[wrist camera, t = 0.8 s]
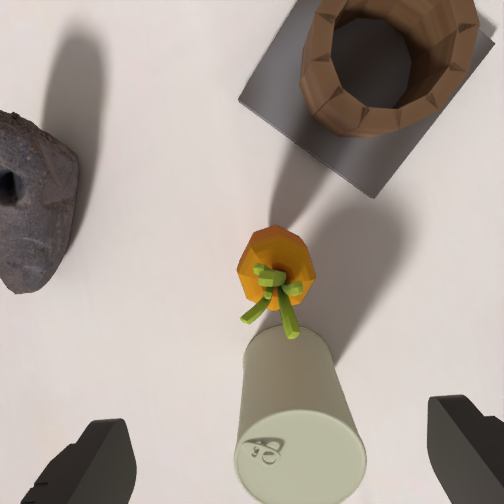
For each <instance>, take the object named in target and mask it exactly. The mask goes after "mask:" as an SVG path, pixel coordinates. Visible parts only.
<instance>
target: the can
mask: <svg viewBox="0 0 504 504" xmlns="http://www.w3.org/2000/svg"><path fill="white" fill-rule="evenodd" d="M299 328H300V334H299V335H298V337H296V338H295V339H288V338H287V336H286V334H285V331H284V327H283V325H279V326H275V327H271V328H269V329H267V330H265V331H263V332H261V333H260V334H258V335H257V336H256V337H255V338H254V339H253V340H252V341H251V342H250V344H249V345H248V347H247V349H246V351H245V354H244V358H243V372H244V373H243V386H242V397H241V408H240V417H239V426H238V435H237V443H236V448H235V452H234V468H235V472H236V475H237V478H238V480H239V482H240V484H241V485H242V487H243V488H244V490H245V491H246V492H247V493H248V494H249V495H250V496H251V497H252V498H253V499H255V500H256V501H258V502H259V503H261V504H340V503H342V502H343V501H345V500H346V499H347V498H348V497H350V496H351V495H352V494H353V493H354V492H355V490H356V489H357V488H358V487H359V485H360V483H361V481H362V479H363V477H364V474H365V471H366V465H367V456H366V450H365V447H364V444H363V441H362V439H361V438H360V436H359V434H358V431H357V429H356V426H355V423H354V421H353V418H352V415H351V413H350V410H349V407H348V405H347V402H346V399H345V396H344V394H343V391H342V388H341V385H340V382H339V380H338V377H337V374H336V371H335V368H334V365H333V359H332V355H331V352H330V349H329V347H328V346H327V344H326V343H325V341H324V340H323V339H322V338H321V337H320V336H319V335H318V334H316V333H315V332H313V331H311V330H309V329H307V328H305V327H301V326H299Z"/></svg>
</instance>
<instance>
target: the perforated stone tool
mask: <svg viewBox="0 0 504 504" xmlns="http://www.w3.org/2000/svg"><path fill="white" fill-rule="evenodd" d="M77 160H78V158H77V155H76V154H75V153H74V152H73V151H71V150H70V149H69V148H68V147H67V146H66V145H64V144H62V143H61V142H60V141H58V140H57V139H55V138H54V137H53V136H51V135H50V134H49V133H47V132H45V131H42V130H41V129H39V128H38V127H37V126H36V125H35V124H34V123H33V122H31V121H29V120H26V119H25V118H22V117H20V115H19V114H17V113H15V112H13V113H11V114H10V113H7V112H3V111H2V110H0V278H1V279H2V281H3V282H4V284H5V285H6V286H7V288H8V289H10V290H11V291H13V292H14V293H15V294H23V293H32V292H35V291H38V290H39V289H41V288H42V287H43V286H44V285H45V284H46V283H47V282H48V281H49V280H50V279H51V277H52V276H53V275H54V273H55V272H56V270H57V268H58V266H59V265H60V263H61V261H62V259H63V256H64V254H65V251H66V248H67V244H68V239H69V235H70V229H71V225H72V218H73V212H74V206H75V201H76V200H75V199H76V190H77V187H78V162H77Z"/></svg>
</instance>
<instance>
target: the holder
mask: <svg viewBox="0 0 504 504" xmlns="http://www.w3.org/2000/svg"><path fill="white" fill-rule="evenodd" d="M479 25H480V24H479V19H478V16H477V12H476V8H475V5H474V1H473V0H298V1H297V3H296V5H295V6H294V8H293V10H292V11H291V13H290V15H289V16H288V18H287V20H286V21H285V23H284V24H283V26H282V28H281V29H280V31H279V33H278V34H277V36H276V38H275V39H274V41H273V42H272V44H271V46H270V47H269V49H268V51H267V52H266V54H265V56H264V57H263V59H262V60H261V62H260V64H259V65H258V67H257V69H256V70H255V72H254V74H253V75H252V77H251V78H250V80H249V82H248V83H247V85H246V87H245V88H244V90H243V92H242V93H241V95H240V96H239V98H238V100H239V102H240V103H241V104H243V105H244V106H245V107H247V108H248V109H249V110H251V111H252V112H253V113H255V114H256V115H258V116H259V117H260V118H262V119H263V120H264V121H266V122H267V123H269V124H270V125H271V126H273V127H274V128H275V129H277V130H278V131H280V132H281V133H282V134H284V135H285V136H286V137H288V138H289V139H291V140H292V141H293V142H295V143H296V144H297V145H299V146H300V147H301V148H303V149H304V150H306V151H307V152H308V153H310V154H311V155H312V156H314V157H315V158H317V159H318V160H319V161H321V162H322V163H323V164H325V165H326V166H328V167H329V168H330V169H332V170H333V171H334V172H336V173H337V174H339V175H340V176H341V177H343V178H344V179H345V180H347V181H348V182H349V183H351V184H352V185H354V186H355V187H356V188H358V189H359V190H360V191H362V192H363V193H365V194H366V195H367V196H369V197H370V198H374V199H375V197H376V196H377V195H378V193H379V192H380V191H381V190H382V188H383V187H384V186H385V184H386V183H387V182H388V181H389V179H390V178H391V177H392V175H393V174H394V173H395V172H396V170H397V169H398V168H399V167H400V165H401V164H402V163H403V161H404V160H405V159H406V158H407V156H408V155H409V154H410V152H411V151H412V150H413V149H414V147H415V146H416V145H417V143H418V142H419V141H420V140H421V138H422V137H423V136H424V135H425V133H426V132H427V131H428V129H429V128H430V127H431V126H432V124H433V123H434V122H435V120H436V119H437V118H438V117H439V115H440V114H441V113H442V111H443V110H444V109H445V108H446V106H447V105H448V104H449V102H450V101H451V100H452V99H453V97H454V96H455V95H456V94H457V92H458V91H459V90H460V88H461V87H462V86H463V85H464V83H465V82H466V81H467V79H468V78H469V77H470V76H471V74H472V73H473V72H474V70H475V69H476V68H477V67H478V65H479V64H480V63H481V62H482V60H483V59H484V58H485V56H486V55H487V54H488V53H489V51H490V50H491V49H492V47H493V46H494V45H495V43H494V42H493V41H492V40H491V39H489V38H488V37H487V36H486V35H485V34H484V33H482V32H481V31H480V30H479Z"/></svg>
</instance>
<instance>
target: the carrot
mask: <svg viewBox="0 0 504 504" xmlns="http://www.w3.org/2000/svg"><path fill="white" fill-rule="evenodd" d="M237 273H238V276H239V278H240V281H241V284H242V287H243V289H244V292H245V295H246V298H247V299H248V300H250V301H253V302H255V303H257V304H256V305H255V306H254V307H252V308H251V309H250V310H249V311H248V312H246V313H245V314H244V315H243V316H242V317H241V318H240V320H241V321H242V322H244V323H247V324H250V323H252V322H253V321H255V320H256V319H257V318H258V317H259V316H260V315H261V314H262V313H263V312H264V310H265V309H266V308H267V309H269V310H272V311H276V310H280V313H281V319H282V324H283V327H284V331H285V334H286V336H287V338H288V339H295V338H296V337H298V335H299V334H300V328H299V325H298V322H297V319H296V316H295V313H294V310H293V308H292V306H293V305H297V304H300V303H301V302H302V300H303V299H304V297H305V295H306V294H307V292H308V290H309V288H310V287H311V285H312V283H313V282H314V280H315V278H316V275H315V271H314V268H313V265H312V261H311V258H310V255H309V252H308V248H307V246H306V245H305V243H304V242H303V240H302V239H301V238H300V237H299V236H298V235H296V234H294V233H292V232H290V231H288V230H286V229H284V228H282V227H280V226H278V225H274V226H271V227H268V228H265V229H262V230H259V231H256V232H254V233H253V235H252V237H251V239H250V241H249V243H248V245H247V247H246V249H245V250H244V252H243V254H242V257H241V259H240V261H239V264H238V267H237Z"/></svg>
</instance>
